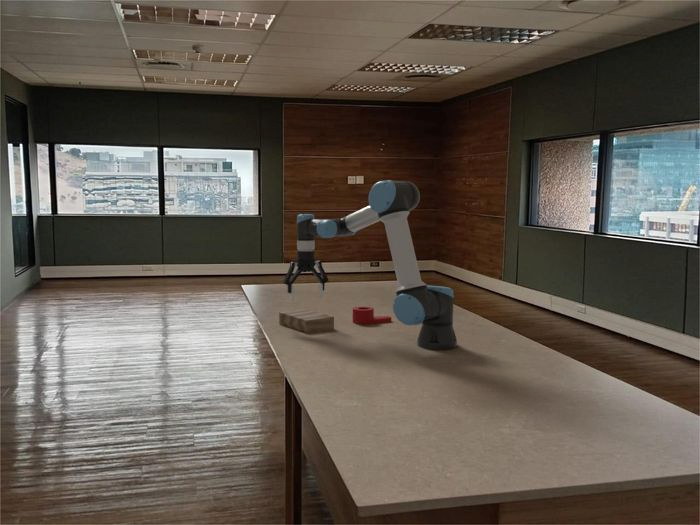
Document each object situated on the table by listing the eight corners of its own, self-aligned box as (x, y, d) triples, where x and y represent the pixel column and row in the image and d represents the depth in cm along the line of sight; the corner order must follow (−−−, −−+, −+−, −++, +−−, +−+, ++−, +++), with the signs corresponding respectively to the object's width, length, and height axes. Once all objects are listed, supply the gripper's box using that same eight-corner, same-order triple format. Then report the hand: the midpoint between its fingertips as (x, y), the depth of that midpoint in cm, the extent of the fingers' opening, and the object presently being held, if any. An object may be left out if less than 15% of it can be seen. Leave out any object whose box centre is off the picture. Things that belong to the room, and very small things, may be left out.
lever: (355, 325, 277) (355, 310, 276) (350, 321, 286) (350, 307, 285) (394, 323, 281) (394, 309, 280) (387, 319, 290) (388, 305, 289)
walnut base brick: (333, 330, 268) (334, 316, 267) (306, 334, 260) (306, 320, 259) (306, 321, 285) (306, 308, 285) (279, 325, 277) (279, 312, 276)
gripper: (328, 248, 278) (328, 296, 280) (275, 250, 266) (276, 300, 269) (335, 249, 271) (336, 298, 273) (281, 252, 260) (282, 302, 262)
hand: (306, 299), depth 271 cm, fingers open, 13 cm apart
